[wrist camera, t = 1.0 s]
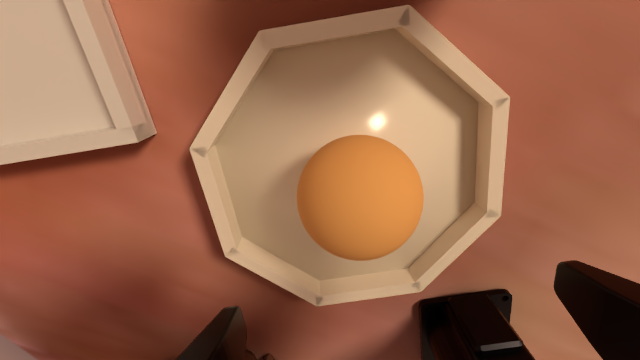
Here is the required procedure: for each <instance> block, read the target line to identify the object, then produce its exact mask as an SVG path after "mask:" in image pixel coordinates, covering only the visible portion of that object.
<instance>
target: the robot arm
mask: <svg viewBox="0 0 640 360" xmlns="http://www.w3.org/2000/svg"><path fill="white" fill-rule="evenodd" d="M554 290H555V293H556V295H557V296H558V298H559V299H560V300H561V302H562V303H563V305H564V306H565V308H566V309H567V311H568V312H569V313H570V315H571V316H572V318H573V319H574V321H575V322H576V324H577V325H578V326H579V328H580V329H581V331H582V332H583V334H584V335H585V336H586V338H587V339H588V341H589V342H590V343H591V345H592V346H593V347H594V349H595V350H596V351H597V353H598V354H599V355H600V356H601V358H602V359H603V360H640V284H639V283H636V282H633V281H630V280H628V279H625V278H622V277H620V276H617V275H614V274H612V273H609V272H606V271H604V270H601V269H598V268H595V267H593V266H590V265H587V264H585V263H582V262H579V261H575V260H572V261H565V262H560V263H559V264H558V265H557V269H556V274H555V280H554ZM503 296H504V297H503ZM511 304H512V295H511V294H510V293H509V292H508V290H506V289H500V290H492V291H485V292H478V293H471V294H464V295H456V296H449V297H442V298H435V299H428V300H423V301H422V302H420V304H419V318H420V340H421V359H422V360H535V359H534V357H533V356H532V355H531V353H530V352H529V350H528V349H527V348H526V346H525V345H524V344H523V341H522V340H521V338H520V337H519V336H518V334H517V333H516V332H515V330H514V329H513V328H512V326H511V325H510V324H509V323H510V314H511ZM425 307H427V308H425ZM246 338H247V329H246V325H245V321H244V318H243V315H242V312H241V309H240V308H239V307H238V306H231V307H226V308H224V309H222V310H221V312H220V313H219V314H218V315H217V316H216V317H215V318H214V319H213V320H212V321H211V322H210V323H209V324H208V326H207V327H206V328H205V329H204V330H203V331H202V332H201V333H200V334H199V335H198V336H197V337H196V338H195V340H194V341H193V342H192V343H191V344H190V345H189V346H188V347H187V348H186V349H185V350H184V351H183V352H182V354H181V355H180V356H179V357H178V358H177V359H176V360H244V357H245V347H246Z"/></svg>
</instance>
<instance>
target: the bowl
mask: <svg viewBox="0 0 640 360" xmlns="http://www.w3.org/2000/svg"><path fill="white" fill-rule="evenodd" d="M509 104H510V96H508V95H507V94H506V93H505V92H504V91H503V90H502V89H501V88H500V87H499V86H498V85H496V84H495V83H494V82H493V81H492V80H491V79H490V78H489V77H488V76H487V75H486V74H484V73H483V72H482V71H481V70H480V69H479V68H478V67H477V66H476V65H475V64H474V63H472V62H471V61H470V60H469V59H468V58H467V57H466V56H465V55H464V54H463V53H462V52H460V51H459V50H458V49H457V48H456V47H455V46H454V45H453V44H452V43H451V42H450V41H449V40H447V39H446V38H445V37H444V36H443V35H442V34H441V33H440V32H439V31H438V30H437V29H435V28H434V27H433V26H432V25H431V24H430V23H429V22H428V21H427V20H426V19H425V18H423V17H422V16H421V15H420V14H419V13H418V12H417V11H416V10H415V9H414V8H413V7H411V6H410V5H403V6H398V7H392V8H386V9H380V10H375V11H369V12H363V13H357V14H352V15H346V16H340V17H334V18H329V19H323V20H317V21H311V22H306V23H300V24H294V25H288V26H283V27H277V28H271V29H265V30H260V31H259V32H258V33H257V35H256V37H255V38H254V40H253V42H252V43H251V45H250V47H249V49H248V50H247V52H246V54H245V55H244V57H243V59H242V60H241V62H240V64H239V65H238V67H237V69H236V71H235V72H234V74H233V76H232V77H231V79H230V81H229V82H228V84H227V86H226V87H225V89H224V91H223V92H222V94H221V96H220V98H219V99H218V101H217V103H216V104H215V106H214V108H213V109H212V111H211V113H210V114H209V116H208V118H207V120H206V121H205V123H204V125H203V126H202V128H201V130H200V131H199V133H198V135H197V136H196V138H195V140H194V142H193V143H192V145H191V147H190V148H189V149H190V152H191V155H192V158H193V161H194V164H195V167H196V171H197V174H198V177H199V180H200V183H201V186H202V189H203V192H204V195H205V198H206V201H207V204H208V207H209V210H210V213H211V216H212V219H213V222H214V225H215V228H216V231H217V234H218V237H219V240H220V243H221V246H222V249H223V252H224V255H225V257H227V258H228V259H230V260H232V261H234V262H236V263H238V264H239V265H241V266H243V267H245V268H247V269H249V270H251V271H252V272H254V273H256V274H258V275H260V276H262V277H263V278H265V279H267V280H269V281H271V282H273V283H275V284H276V285H278V286H280V287H282V288H284V289H286V290H287V291H289V292H291V293H293V294H295V295H297V296H299V297H300V298H302V299H304V300H306V301H308V302H310V303H311V304H313V305H315V306H323V305H330V304H338V303H345V302H352V301H359V300H366V299H373V298H380V297H388V296H395V295H402V294H409V293H416V292H421V291H422V290H423V289H424V288H425V287H426V286H427V285H429V284H430V283H431V282H432V281H433V280H434V279H435V278H436V277H437V276H438V275H439V274H440V273H441V272H442V271H443V270H444V269H445V268H446V267H448V266H449V265H450V264H451V263H452V262H453V261H454V260H455V259H456V258H457V257H458V256H459V255H460V254H461V253H462V252H463V251H464V250H465V249H467V248H468V247H469V246H470V245H471V244H472V243H473V242H474V241H475V240H476V239H477V238H478V237H479V236H480V235H481V234H482V233H483V232H484V231H485V230H487V229H488V228H489V227H490V226H491V225H492V224H493V223H494V222H495V221H496V220H497V219H498V218H499V217H500V216H501V208H502V195H503V182H504V169H505V156H506V143H507V130H508V117H509ZM349 135H369V136H375V137H378V138H381V139H384V140H386V141H388V142H390V143H392V144H394V145H395V146H397V147H398V148H399V149H401V150H402V151H403V152H404V153H405V154H406V155H407V156H408V157H409V159H410V160H411V161H412V163H413V164H414V166H415V167H416V169H417V171H418V174H419V176H420V179H421V182H422V186H423V194H424V200H423V210H422V214H421V217H420V220H419V223H418V225H417V227H416V229H415V231H414V232H413V234H412V235H411V236H410V238H409V239H408V240H407V241H406V242H405V243H404V244H403V245H402V246H401V247H400V248H398V249H397V250H395V251H394V252H392V253H390V254H388V255H386V256H384V257H381V258H378V259H373V260H367V261H354V260H348V259H344V258H340V257H338V256H335V255H333V254H331V253H329V252H327V251H326V250H324V249H323V248H322V247H320V246H319V245H318V244H317V243H316V242H315V241H314V240H313V239H312V238H311V237H310V235H309V234H308V232H307V231H306V229H305V228H304V226H303V224H302V221H301V219H300V216H299V212H298V207H297V188H298V183H299V179H300V176H301V173H302V171H303V169H304V167H305V165H306V164H307V162H308V161H309V160H310V158H311V157H312V156H313V155H314V154H315V153H316V152H317V151H318V150H319V149H320V148H321V147H323V146H324V145H326V144H327V143H329V142H331V141H333V140H335V139H338V138H341V137H345V136H349Z"/></svg>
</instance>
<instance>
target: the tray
mask: <svg viewBox="0 0 640 360" xmlns="http://www.w3.org/2000/svg"><path fill="white" fill-rule="evenodd" d="M154 134H157V132H156V129H155V126H154V124H153V121H152V118H151V115H150V113H149V110H148V107H147V104H146V102H145V99H144V96H143V93H142V91H141V88H140V85H139V83H138V80H137V77H136V74H135V72H134V69H133V66H132V63H131V61H130V58H129V55H128V52H127V50H126V47H125V44H124V42H123V39H122V36H121V33H120V31H119V28H118V25H117V22H116V20H115V17H114V14H113V11H112V9H111V6H110V3H109V1H108V0H0V165H3V164H9V163H15V162H21V161H27V160H33V159H39V158H45V157H52V156H58V155H64V154H70V153H76V152H82V151H88V150H95V149H101V148H107V147H113V146H119V145H125V144H131V143H138V142H140V141H142V140H144V139H146V138H148V137H150V136H152V135H154Z"/></svg>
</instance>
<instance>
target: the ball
mask: <svg viewBox="0 0 640 360" xmlns="http://www.w3.org/2000/svg"><path fill="white" fill-rule="evenodd" d="M423 200H424V194H423V186H422V182H421V179H420V176H419V174H418V171H417V169H416V167H415V166H414V164H413V163H412V161H411V160H410V159H409V157H408V156H407V155H406V154H405V153H404V152H403V151H402V150H401V149H399V148H398V147H397V146H395V145H394V144H392V143H390V142H388V141H386V140H384V139H381V138H378V137H375V136H369V135H349V136H345V137H341V138H338V139H335V140H333V141H331V142H329V143H327V144H326V145H324V146H323V147H321V148H320V149H319V150H318V151H317V152H316V153H315V154H314V155H313V156H312V157H311V158H310V160H309V161H308V162H307V164H306V165H305V167H304V169H303V171H302V173H301V176H300V179H299V183H298V188H297V207H298V212H299V216H300V219H301V221H302V224H303V226H304V228H305V229H306V231H307V232H308V234H309V235H310V237H311V238H312V239H313V240H314V241H315V242H316V243H317V244H318V245H319V246H320V247H322V248H323V249H324V250H326V251H327V252H329V253H331V254H333V255H335V256H338V257H340V258H344V259H348V260H354V261H367V260H373V259H378V258H381V257H384V256H386V255H388V254H390V253H392V252H394V251H395V250H397V249H398V248H400V247H401V246H402V245H403V244H404V243H405V242H406V241H407V240H408V239H409V238H410V236H411V235H412V234H413V232H414V231H415V229H416V227H417V225H418V223H419V220H420V217H421V214H422V210H423Z"/></svg>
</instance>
